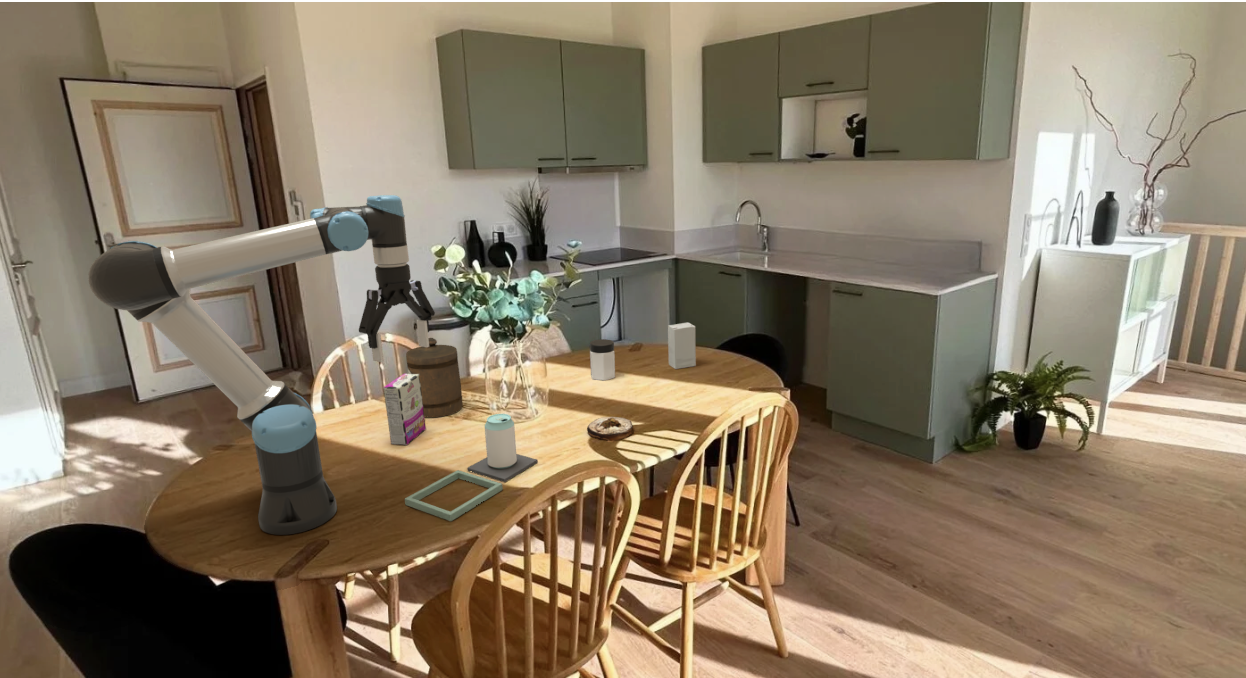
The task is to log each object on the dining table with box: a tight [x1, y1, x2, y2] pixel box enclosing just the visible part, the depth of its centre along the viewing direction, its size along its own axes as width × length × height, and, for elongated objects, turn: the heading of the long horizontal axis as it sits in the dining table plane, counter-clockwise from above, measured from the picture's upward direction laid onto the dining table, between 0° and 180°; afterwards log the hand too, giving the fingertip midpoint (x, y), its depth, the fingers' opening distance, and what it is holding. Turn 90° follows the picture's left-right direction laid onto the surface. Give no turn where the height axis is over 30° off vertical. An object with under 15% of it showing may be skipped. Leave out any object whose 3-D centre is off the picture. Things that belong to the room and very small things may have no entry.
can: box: [484, 413, 517, 469], centre depth 167 cm, size 7×7×12 cm
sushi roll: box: [586, 416, 634, 443], centre depth 188 cm, size 15×15×4 cm
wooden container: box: [405, 337, 464, 419], centre depth 205 cm, size 15×15×22 cm
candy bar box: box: [382, 373, 427, 446], centre depth 186 cm, size 11×5×16 cm, turn 168°
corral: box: [404, 469, 504, 522], centre depth 154 cm, size 16×14×2 cm
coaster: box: [466, 453, 539, 483], centre depth 169 cm, size 12×12×1 cm
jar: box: [589, 338, 616, 381], centre depth 232 cm, size 9×8×12 cm
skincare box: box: [667, 322, 697, 370], centre depth 241 cm, size 8×6×15 cm
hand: (402, 353), depth 163 cm, fingers open, 13 cm apart
